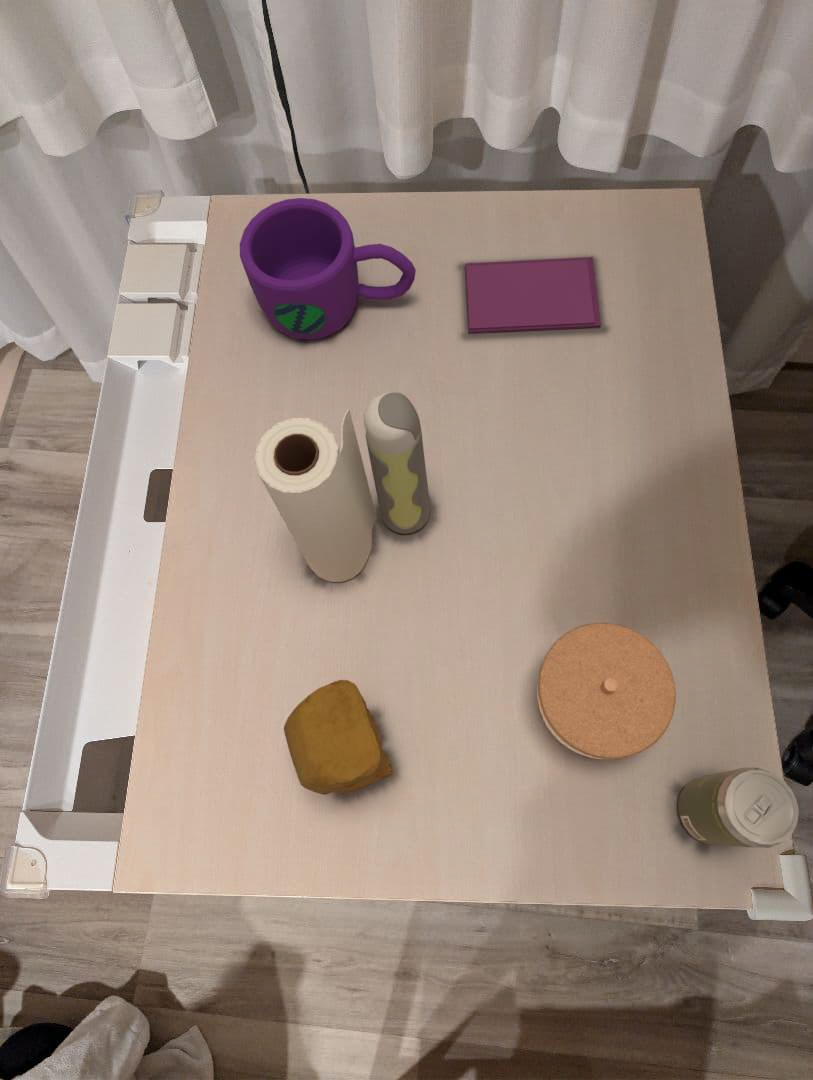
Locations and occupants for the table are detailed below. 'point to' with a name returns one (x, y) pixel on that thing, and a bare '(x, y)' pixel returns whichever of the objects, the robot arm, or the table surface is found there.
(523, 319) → the flat purple rectangular slab
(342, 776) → the wooden tiki figurine
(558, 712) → the trinket box
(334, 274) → the mug
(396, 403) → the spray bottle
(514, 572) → the table surface
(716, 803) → the beer can
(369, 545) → the paper towel roll
